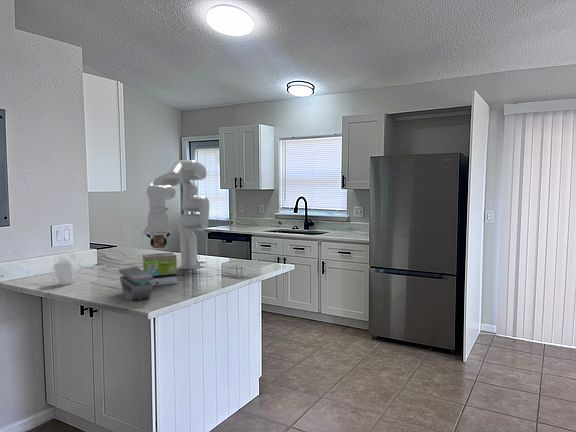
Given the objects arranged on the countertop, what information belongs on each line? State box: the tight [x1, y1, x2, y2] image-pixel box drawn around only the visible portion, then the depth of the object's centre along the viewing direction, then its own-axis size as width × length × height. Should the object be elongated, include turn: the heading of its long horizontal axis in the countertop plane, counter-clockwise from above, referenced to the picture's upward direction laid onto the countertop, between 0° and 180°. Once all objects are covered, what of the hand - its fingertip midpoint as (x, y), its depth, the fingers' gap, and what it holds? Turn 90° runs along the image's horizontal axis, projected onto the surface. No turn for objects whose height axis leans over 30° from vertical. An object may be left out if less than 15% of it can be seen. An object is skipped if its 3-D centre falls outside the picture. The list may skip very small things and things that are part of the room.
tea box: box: [142, 252, 178, 286], centre depth 223 cm, size 15×10×15 cm
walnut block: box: [153, 234, 165, 249], centre depth 221 cm, size 5×5×6 cm
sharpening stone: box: [118, 266, 154, 301], centre depth 199 cm, size 25×8×11 cm, turn 35°
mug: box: [54, 260, 82, 286], centre depth 224 cm, size 12×8×11 cm
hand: (158, 246), depth 221 cm, fingers closed on walnut block, 5 cm apart
